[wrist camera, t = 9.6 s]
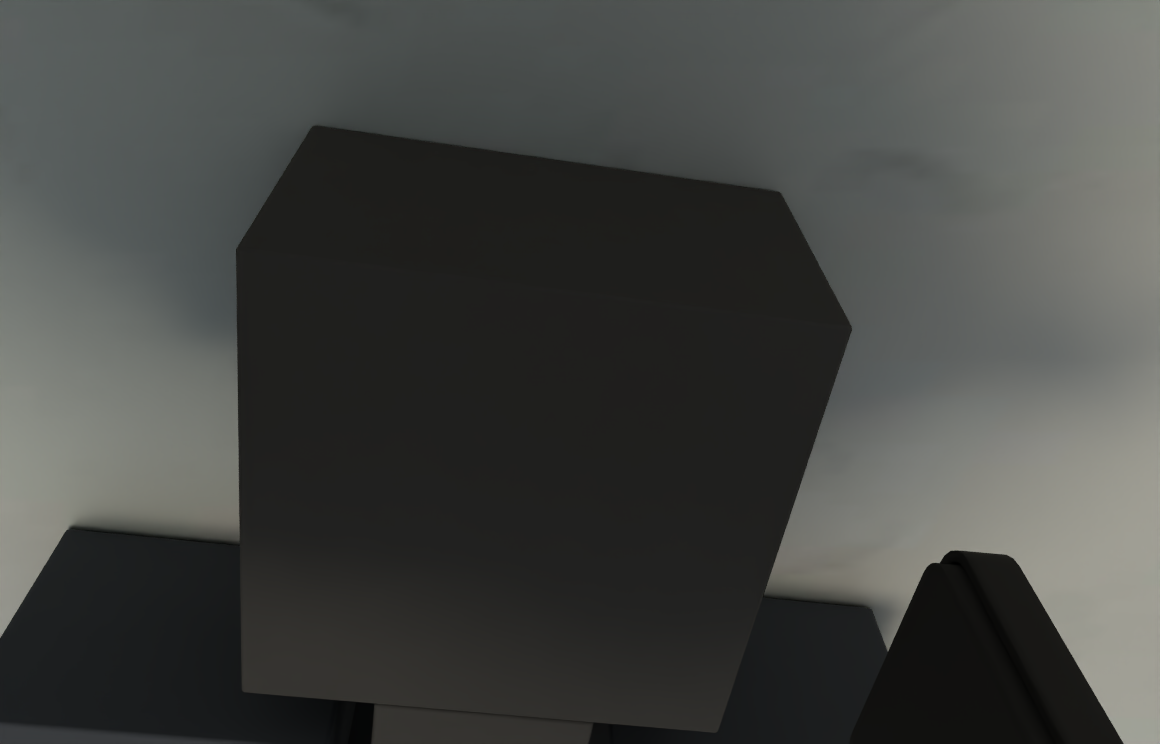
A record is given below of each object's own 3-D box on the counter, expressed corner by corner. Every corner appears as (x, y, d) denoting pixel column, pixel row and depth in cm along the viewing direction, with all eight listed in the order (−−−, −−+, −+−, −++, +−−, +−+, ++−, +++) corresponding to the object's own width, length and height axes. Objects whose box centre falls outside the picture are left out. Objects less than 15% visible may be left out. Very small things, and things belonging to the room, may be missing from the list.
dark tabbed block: (312, 123, 14) (233, 246, 10) (781, 190, 15) (854, 327, 11) (298, 614, 18) (242, 813, 15) (657, 648, 19) (681, 845, 16)
